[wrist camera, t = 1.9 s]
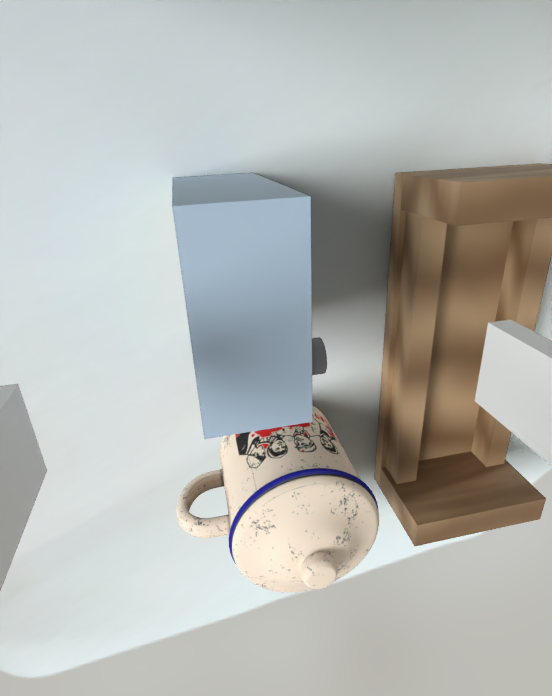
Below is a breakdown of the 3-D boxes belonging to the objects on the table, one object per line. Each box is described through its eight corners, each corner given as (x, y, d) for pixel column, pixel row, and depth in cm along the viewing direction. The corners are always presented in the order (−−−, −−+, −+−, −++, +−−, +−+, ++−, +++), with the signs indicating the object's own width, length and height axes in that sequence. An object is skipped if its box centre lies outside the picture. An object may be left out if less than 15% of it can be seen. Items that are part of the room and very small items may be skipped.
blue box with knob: (172, 177, 25) (172, 206, 14) (269, 171, 25) (339, 194, 15) (192, 327, 28) (204, 439, 18) (276, 317, 29) (335, 418, 19)
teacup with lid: (335, 385, 33) (411, 498, 22) (331, 481, 36) (394, 616, 26) (168, 406, 30) (166, 543, 20) (183, 506, 34) (187, 663, 24)
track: (395, 173, 27) (462, 182, 21) (540, 163, 29) (641, 169, 22) (374, 478, 37) (414, 546, 31) (481, 458, 39) (540, 519, 33)
